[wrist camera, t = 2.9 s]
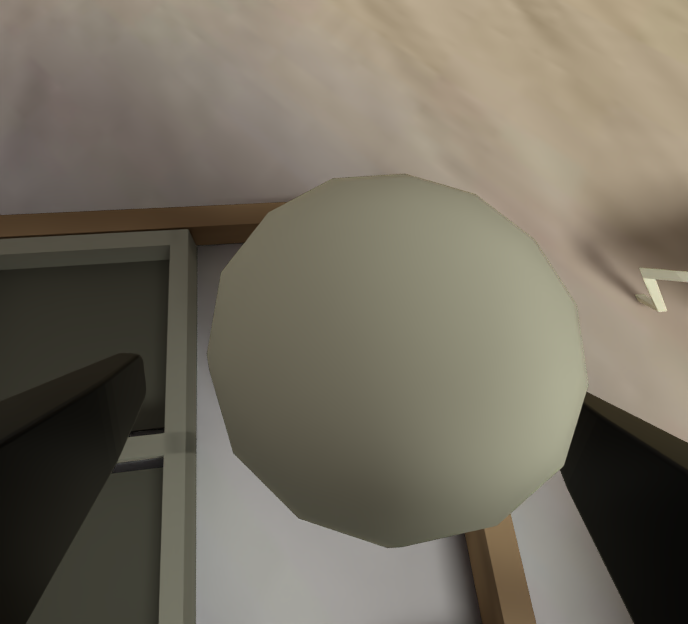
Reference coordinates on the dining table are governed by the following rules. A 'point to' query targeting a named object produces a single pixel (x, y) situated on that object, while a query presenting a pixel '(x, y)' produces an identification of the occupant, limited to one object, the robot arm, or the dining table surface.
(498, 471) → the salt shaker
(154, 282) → the trap pits
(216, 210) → the wooden frame
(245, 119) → the dining table surface
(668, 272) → the origami figure
